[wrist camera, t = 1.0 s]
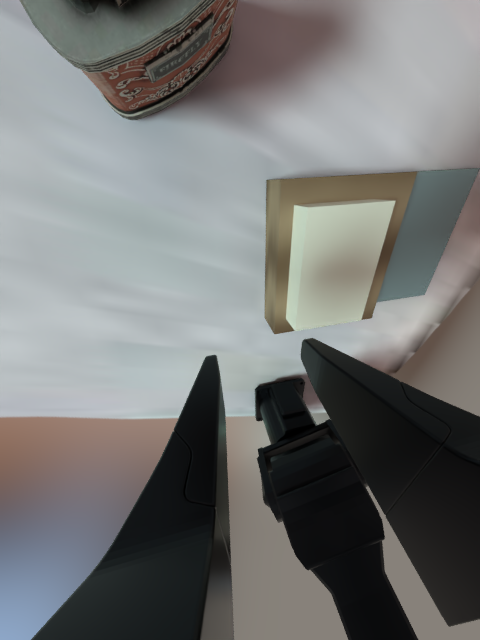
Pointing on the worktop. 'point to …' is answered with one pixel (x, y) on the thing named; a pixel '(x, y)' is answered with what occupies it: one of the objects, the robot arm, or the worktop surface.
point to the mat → (425, 231)
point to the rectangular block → (334, 260)
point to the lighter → (137, 45)
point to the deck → (322, 191)
